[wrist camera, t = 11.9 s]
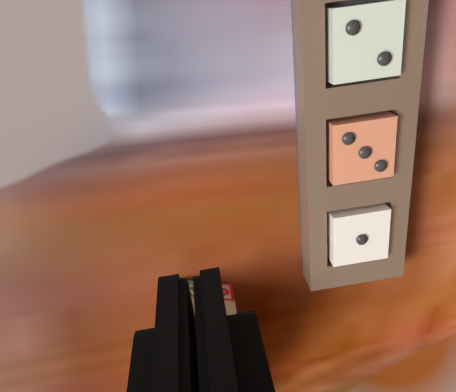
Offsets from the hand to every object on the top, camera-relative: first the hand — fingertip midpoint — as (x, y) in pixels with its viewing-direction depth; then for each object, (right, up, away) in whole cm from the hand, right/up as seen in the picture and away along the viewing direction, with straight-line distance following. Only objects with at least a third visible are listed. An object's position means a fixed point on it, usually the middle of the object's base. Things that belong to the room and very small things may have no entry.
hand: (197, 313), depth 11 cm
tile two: (+11, +16, +22) cm, 30 cm away
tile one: (+14, 0, +30) cm, 33 cm away
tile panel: (+12, +9, +28) cm, 32 cm away
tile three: (+12, +8, +26) cm, 30 cm away
